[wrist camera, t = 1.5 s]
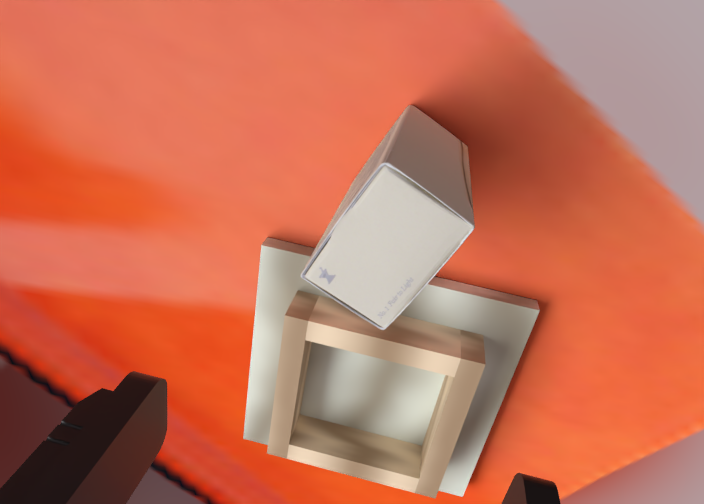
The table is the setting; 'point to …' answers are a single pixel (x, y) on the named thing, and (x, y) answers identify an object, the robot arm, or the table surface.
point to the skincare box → (396, 221)
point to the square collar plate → (380, 377)
